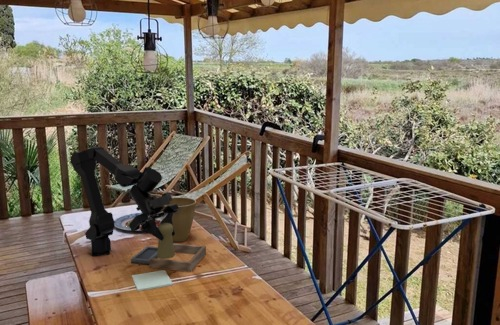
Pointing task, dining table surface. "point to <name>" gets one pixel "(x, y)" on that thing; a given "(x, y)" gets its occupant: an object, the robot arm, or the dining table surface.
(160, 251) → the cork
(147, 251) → the tray
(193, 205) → the plant pot
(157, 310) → the dining table surface
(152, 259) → the frame
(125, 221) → the ceramic plate
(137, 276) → the sage pad
